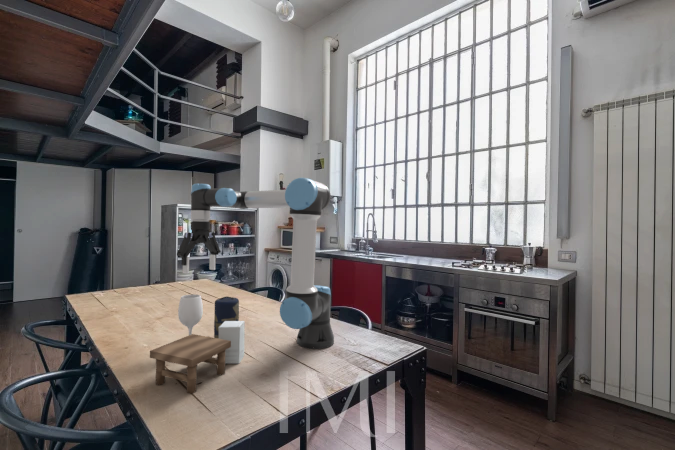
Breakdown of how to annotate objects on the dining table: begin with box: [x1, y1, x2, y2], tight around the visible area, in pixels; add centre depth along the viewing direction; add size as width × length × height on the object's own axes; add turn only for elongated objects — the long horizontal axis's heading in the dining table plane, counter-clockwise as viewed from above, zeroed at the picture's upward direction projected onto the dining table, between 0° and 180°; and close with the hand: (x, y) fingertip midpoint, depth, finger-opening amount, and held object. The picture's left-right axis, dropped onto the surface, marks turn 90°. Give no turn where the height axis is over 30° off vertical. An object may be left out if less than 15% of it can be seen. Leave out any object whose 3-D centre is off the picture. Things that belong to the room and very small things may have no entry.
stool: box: [149, 333, 231, 394], centre depth 99 cm, size 16×16×10 cm
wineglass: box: [177, 293, 204, 336], centre depth 117 cm, size 9×9×21 cm
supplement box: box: [218, 320, 245, 364], centre depth 113 cm, size 7×7×13 cm
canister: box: [213, 296, 240, 339], centre depth 131 cm, size 10×10×18 cm
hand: (199, 271), depth 135 cm, fingers open, 13 cm apart
